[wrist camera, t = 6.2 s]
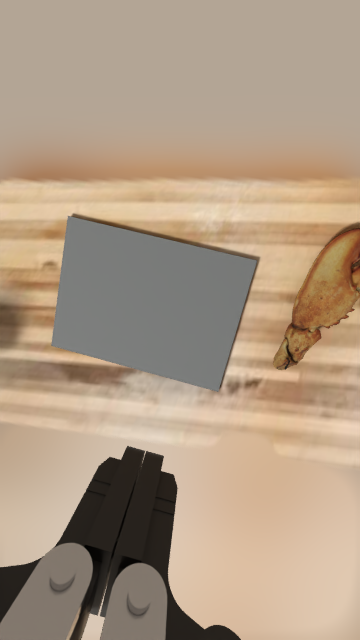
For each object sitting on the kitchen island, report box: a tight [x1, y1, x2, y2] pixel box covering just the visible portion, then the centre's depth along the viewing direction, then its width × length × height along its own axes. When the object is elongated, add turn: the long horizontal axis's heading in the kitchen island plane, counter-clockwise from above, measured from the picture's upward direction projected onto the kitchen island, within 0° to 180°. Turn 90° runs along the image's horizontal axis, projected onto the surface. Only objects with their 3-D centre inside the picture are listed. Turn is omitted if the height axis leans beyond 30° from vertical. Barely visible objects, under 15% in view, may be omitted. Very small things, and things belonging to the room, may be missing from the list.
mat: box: [51, 216, 257, 392], centre depth 35 cm, size 26×19×1 cm
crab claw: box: [273, 228, 360, 370], centre depth 31 cm, size 7×5×20 cm
